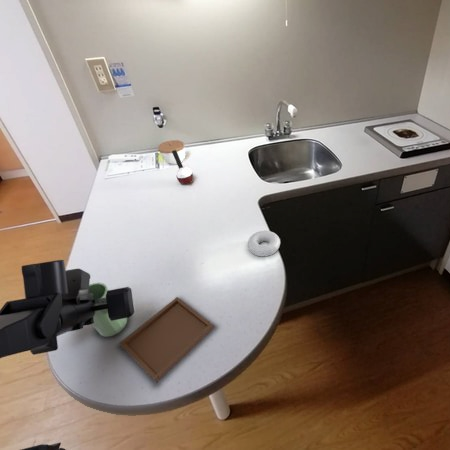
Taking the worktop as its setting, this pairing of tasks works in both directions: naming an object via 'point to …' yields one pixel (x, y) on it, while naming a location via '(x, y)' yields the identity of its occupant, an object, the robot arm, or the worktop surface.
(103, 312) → the green cup
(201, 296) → the worktop surface
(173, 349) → the serving tray
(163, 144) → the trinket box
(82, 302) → the robot arm
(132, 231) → the worktop surface
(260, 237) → the donut
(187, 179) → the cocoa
